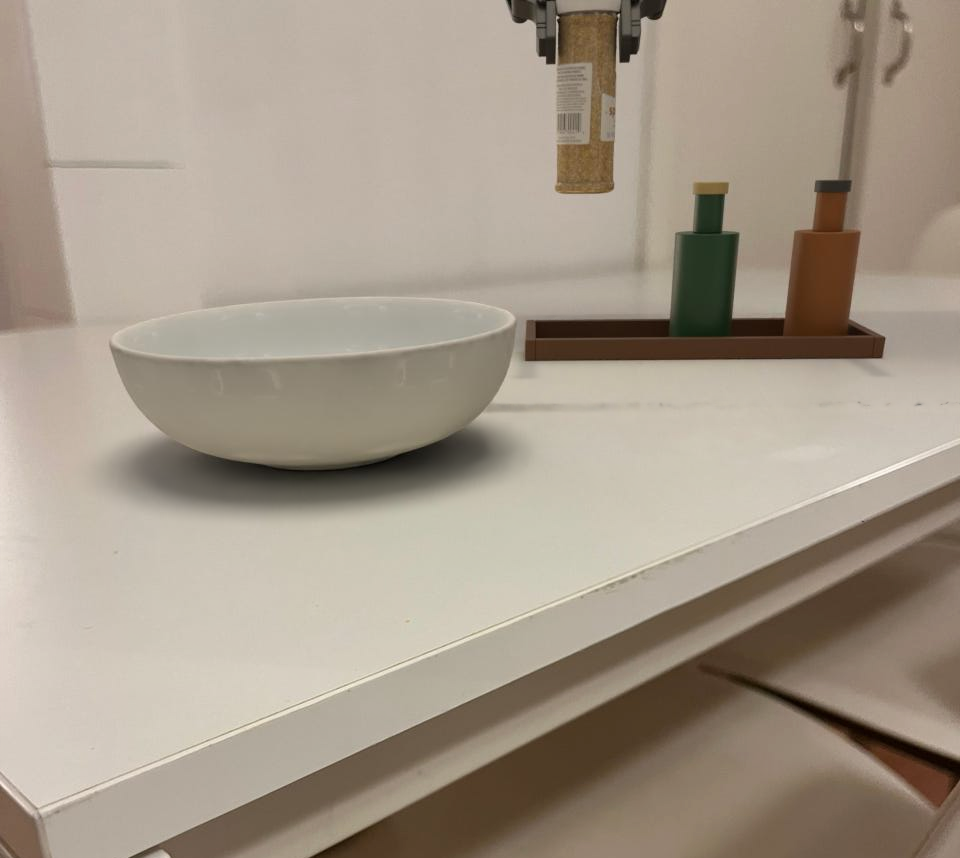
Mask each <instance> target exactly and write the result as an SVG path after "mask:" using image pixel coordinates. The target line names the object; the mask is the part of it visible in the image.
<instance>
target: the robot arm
mask: <svg viewBox="0 0 960 858" xmlns="http://www.w3.org/2000/svg"><path fill="white" fill-rule="evenodd" d="M667 2H668V0H621V12H620V14H618V15H617V16H618V18H619V19H618V24H617V35H618V58H619V61H618V62H619V64H630V61H631V56H635V55H638V53H639V51H640V46H641V38H642V19H644V18H647V19H648V20H650V21H658V20H660V19H661V18H662V17H663V14H664V11H665V8H666V5H667ZM505 3H506V6H507V9H508V11H509V14H510V17H511V20H512V21H513V23H515V24H519V25H521V24H525V23H526V22H528V20H529V21H531V22H532V23H533V24H534V25H535V35H536V37H535V52H536V54H537V56H538V57H539V58H545V65H551V66H552V65H557V64H556V61H557V17H558V16H557V15H556V0H505Z"/></svg>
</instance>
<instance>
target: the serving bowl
mask: <svg viewBox="0 0 960 858" xmlns="http://www.w3.org/2000/svg"><path fill="white" fill-rule="evenodd" d="M517 322H518V320H517V318H516V316H515V315H514V314H513V313H512V312H510V311H509V310H506V309H504V308H502V307H498V306H495V305H494V306H493V305H490V304H485V303H479V302H474V301H467V300H466V301H465V300H460V299H459V300H458V299H451V298H450V299H449V298H435V297H413V296H346V297H345V296H344V297H320V298H319V297H318V298H303V299H301V298H299V299H287V300H274V301H273V300H272V301H263V302H251V303H242V304H232V305H225V306H217V307H211V308H203V309H195V310H189V311H184V312H179V313H174V314H169V315H163V316H160V317H154V318H151V319H147V320H144V321H141V322H137V323H135V324H132V325H129V326H126V327H124V328H122V329H120V330H118V331H116V332H114V334H113V335H111V336H110V338H109V341H108V342H109V345H108V346H109V349H110V353H111V355H112V358H113V361H114V364H115V367H116V371H117V373H118V375H119V377H120V380H121V382H122V383H121V384H122V385H123V387H124V389H125V391H126V392H127V394H128V396H129V398H130V399H131V400H132V402H133V404H134V405H135V406H136V409H138V410H139V411H140V412H141V414H143V416H144V417H145V418H146V419H147V420H148V421H149V422H150V423H151V424H152V425H153V426H155V427H156V428H157V429H158V430H159V431H161V432H162V433H164V434H165V435H166V436H168V437H169V438H171V439H172V440H174V441H176V442H177V443H179V444H181V445H183V446H184V447H187V448H189V449H191V450H192V449H193V450H195V451H197V452H200V453H203V454H206V455H210V456H213V457H217V458H221V459H225V460H229V461H236V462H242V463H248V464H257V465H261V466H264V467H268V468H269V467H270V468H275V469H280V470H291V471H329V470H340V469H348V468H356V467H362V466H367V465H371V464H376V463H379V462H383V461H386V460H389V459H392V458H394V457H397V456H399V455H401V454H404V453H408V452H411V451H415V450H418V449H421V448H424V447H427V446H430V445H432V444H435V443H437V442H439V441H443V440H444V439H446V438H448V437H451V436H452V435H454V434H456V433H458V432H459V431H461V430H463V429H464V428H466V427H467V426H468V425H469V424H471V423H472V422H473V421H474V420H475V419H477V418H478V417H479V416H480V415H481V414H482V413H483V412H484V411H485V410H486V409H487V408H488V407H489V405H490V404H491V403H492V401H493V400H494V399H495V397H496V396H497V394H498V393H499V390H501V387H502V385H503V383H504V381H505V379H506V377H507V374H508V371H509V369H510V365H511V360H512V356H513V352H514V348H515V347H514V346H515V339H516V331H517V324H518V323H517Z"/></svg>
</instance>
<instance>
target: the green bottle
mask: <svg viewBox="0 0 960 858" xmlns="http://www.w3.org/2000/svg"><path fill="white" fill-rule="evenodd" d="M729 185H730V182H729V181H695V182H693V184H692V194H693V195H694V207H693V219H692V220H693V223H692V230H686V231H677V232H675V233H674V245H673V247H674V248H673V265H672V279H671V280H672V281H671V293H670V294H671V296H670V311H669V312H670V313H669V319H670V326H669V337H731V326H732V318H733V315H734V313H733V312H734V301H735V293H736V292H735V291H736V278H737V268H738V259H739V258H738V257H739V256H738V255H739V246H740V234H741V233H740V231H733V230H723V227H724V216H725V215H724V214H725V202H726V195H728V194H729V188H730V186H729Z"/></svg>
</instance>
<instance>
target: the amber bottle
mask: <svg viewBox="0 0 960 858" xmlns="http://www.w3.org/2000/svg"><path fill="white" fill-rule="evenodd" d="M852 184H853V180H852V179H817V180H815V181H814V188H813V191H814V193H816V196H815V204H814V205H815V206H814V212H813V221H812V229H811V228H810V229H807V228H806V229H797V230H794V233H793V241H792V249H791V259H790V268H789V277H788V286H787V295H786V305H785V312H784V313H785V314H784V318H785V322H784V331H783V336H847V330H848V323H849V319H850V315H851V309H852V308H851V307H852V299H853V294H854V293H853V292H854V286H855V278H856V270H857V264H858V256H859V248H860V241H861V233H862V231H861V230H857V229H847V228H846V229H844V224H845V218H846V209H847V200H848V193H850V192H851V191H852Z"/></svg>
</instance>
